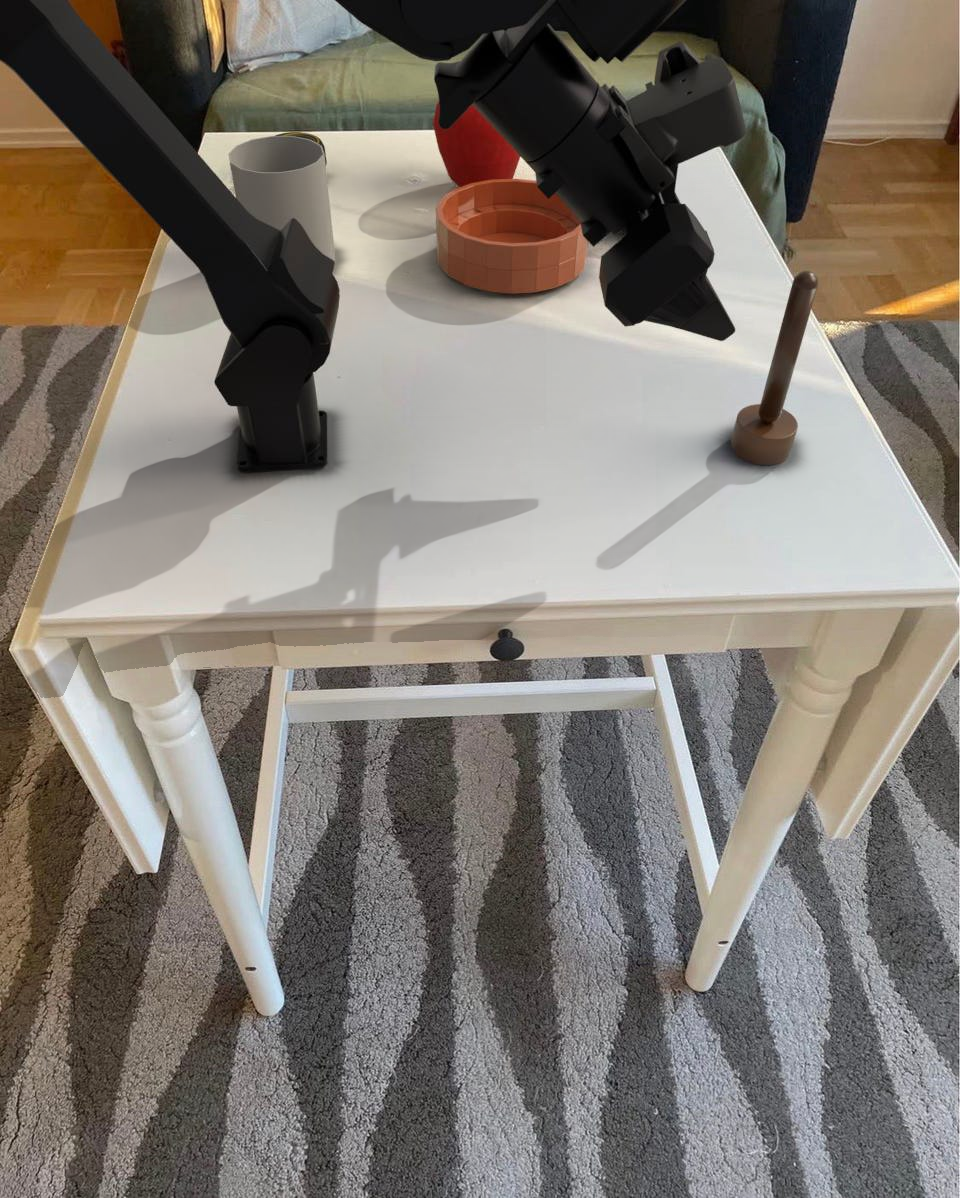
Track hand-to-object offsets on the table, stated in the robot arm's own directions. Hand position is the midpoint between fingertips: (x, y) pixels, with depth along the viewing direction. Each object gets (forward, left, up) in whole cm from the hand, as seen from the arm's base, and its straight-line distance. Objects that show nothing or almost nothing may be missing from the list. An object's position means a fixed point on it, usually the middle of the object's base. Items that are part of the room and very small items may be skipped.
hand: (715, 298), depth 63 cm
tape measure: (+51, +30, -12) cm, 61 cm away
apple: (+47, +10, -12) cm, 50 cm away
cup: (+32, +30, -12) cm, 46 cm away
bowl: (+30, +9, -12) cm, 34 cm away
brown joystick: (-1, -6, -12) cm, 13 cm away
